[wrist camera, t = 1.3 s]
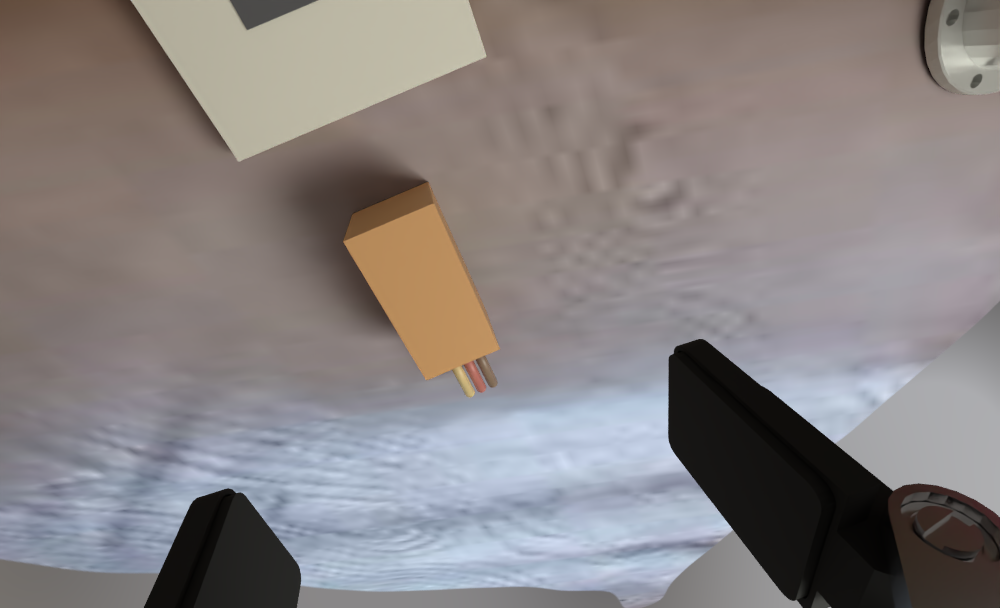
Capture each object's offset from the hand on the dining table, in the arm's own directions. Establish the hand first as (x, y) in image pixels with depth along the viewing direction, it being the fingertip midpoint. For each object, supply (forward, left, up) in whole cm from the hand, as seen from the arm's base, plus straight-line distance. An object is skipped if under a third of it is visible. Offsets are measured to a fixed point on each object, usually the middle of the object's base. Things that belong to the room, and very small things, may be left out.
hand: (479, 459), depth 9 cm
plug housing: (+2, +6, -20) cm, 21 cm away
